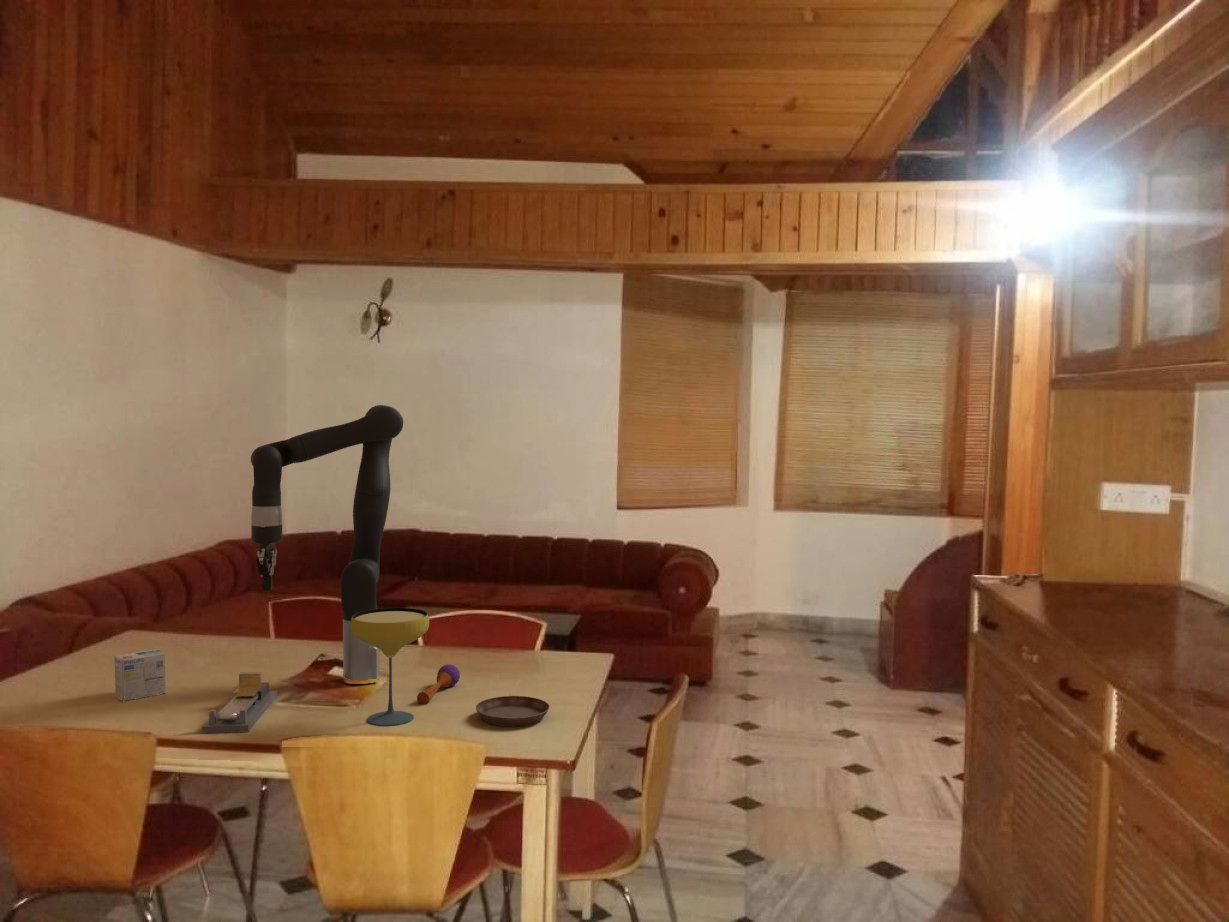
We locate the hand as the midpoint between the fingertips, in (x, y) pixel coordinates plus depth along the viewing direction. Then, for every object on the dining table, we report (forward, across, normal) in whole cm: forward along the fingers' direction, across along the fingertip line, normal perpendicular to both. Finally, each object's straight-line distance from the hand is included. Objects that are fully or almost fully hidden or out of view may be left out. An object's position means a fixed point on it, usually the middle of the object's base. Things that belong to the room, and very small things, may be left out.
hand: (267, 590), depth 250 cm
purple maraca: (+28, +3, +44) cm, 52 cm away
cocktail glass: (+27, +24, +34) cm, 50 cm away
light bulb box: (+27, -1, -32) cm, 42 cm away
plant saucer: (+28, +25, +63) cm, 73 cm away
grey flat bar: (+25, +21, -2) cm, 33 cm away
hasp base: (+27, +17, -2) cm, 32 cm away
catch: (+23, +12, -2) cm, 26 cm away
